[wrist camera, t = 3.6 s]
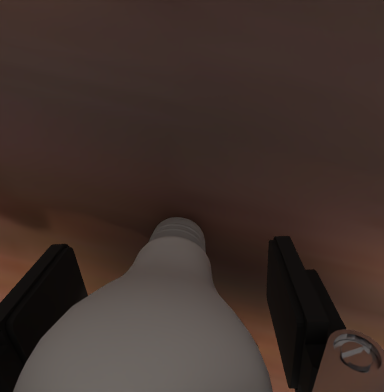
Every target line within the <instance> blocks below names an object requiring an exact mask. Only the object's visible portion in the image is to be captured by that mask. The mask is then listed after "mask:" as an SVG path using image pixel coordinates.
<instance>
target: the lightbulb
mask: <svg viewBox="0 0 384 392" xmlns="http://www.w3.org/2000/svg"><path fill="white" fill-rule="evenodd" d="M13 392H273V391H272V386H271V382H270V377H269V373H268V370H267V368H266V366H265V363H264V361H263V358H262V356H261V354H260V351H259V349H258V347H257V345H256V343H255V341H254V340H253V338H252V336H251V334H250V333H249V331H248V330H247V329H246V327H245V326H244V324H243V323H242V322H241V320H240V319H239V318H238V316H237V315H236V314H235V312H234V311H233V310H232V309H231V308H230V306H229V305H228V304H227V303H226V302H225V301H224V300H223V299H222V298H221V297H220V296H219V294H218V292H217V290H216V289H215V287H214V283H213V279H212V271H211V264H210V261H209V259H208V257H207V255H206V249H205V239H204V234H203V232H202V230H201V228H200V227H199V226H198V225H197V224H196V223H194V222H193V221H191V220H189V219H186V218H181V217H173V218H168V219H166V220H164V221H162V222H161V223H159V224H158V225H157V227H156V228H155V230H154V232H153V234H152V235H151V238H150V240H149V242H148V243H147V244H146V245H145V246H144V247H143V248H142V249H141V250H140V252H139V253H138V255H137V257H136V259H135V261H134V263H133V265H132V266H131V267H130V269H129V270H128V271H127V272H126V273H125V274H124V275H123V276H121V277H120V278H118V279H116V280H114V281H112V282H110V283H108V284H106V285H105V286H103V287H101V288H100V289H98V290H97V291H95V292H93V293H92V294H90V295H89V296H87V297H86V298H84V299H83V300H81V301H79V302H78V303H76V304H75V305H73V306H72V307H71V308H70V309H69V310H68V311H67V312H66V313H65V314H64V315H63V316H62V317H61V318H60V319H59V320H58V321H57V322H56V323H55V324H54V325H53V326H52V327H51V328H50V329H49V331H48V332H47V333H46V334H45V335H44V336H43V337H42V338H41V339H40V341H39V342H38V344H37V345H36V347H35V349H34V350H33V352H32V353H31V355H30V357H29V358H28V360H27V361H26V363H25V365H24V367H23V369H22V371H21V373H20V375H19V378H18V380H17V383H16V385H15V388H14V390H13Z"/></svg>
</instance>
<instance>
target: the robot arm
mask: <svg viewBox="0 0 384 392" xmlns="http://www.w3.org/2000/svg"><path fill="white" fill-rule="evenodd" d="M87 296H88V294H87V291H86V288H85V285H84V282H83V279H82V276H81V273H80V270H79V266H78V263H77V260H76V257H75V254H74V251H73V249H72V248H71V247H69V246H68V245H67V244H54V245H51V246H50V247H49V248H48V249H47V250H46V252H45V253H44V254H43V255H42V256H41V257H40V258H39V260H38V261H37V262H36V263H35V264H34V265H33V266H32V267H31V269H30V270H29V271H28V272H27V273H26V274H25V275H24V277H23V278H22V279H21V280H20V281H19V282H18V283H17V285H16V286H15V287H14V288H13V289H12V290H11V291H10V292H9V294H8V295H7V296H6V297H5V298H4V299H3V300H2V302H1V303H0V392H13V390H14V388H15V385H16V383H17V380H18V378H19V375H20V373H21V371H22V369H23V367H24V365H25V363H26V361H27V360H28V358H29V357H30V355H31V353H32V352H33V350H34V349H35V347H36V345H37V344H38V342H39V341H40V339H41V338H42V337H43V336H44V335H45V334H46V333H47V332H48V331H49V329H50V328H51V327H52V326H53V325H54V324H55V323H56V322H57V321H58V320H59V319H60V318H61V317H62V316H63V315H64V314H65V313H66V312H67V311H68V310H69V309H70V308H71V307H72V306H73V305H75V304H76V303H78V302H79V301H81V300H83V299H84V298H86V297H87ZM267 301H268V305H269V309H270V313H271V318H272V322H273V326H274V330H275V334H276V338H277V342H278V346H279V351H280V355H281V359H282V363H283V367H284V371H285V375H286V379H287V383H288V387H289V388H295V392H384V350H383V349H382V347H381V346H380V345H379V344H378V343H377V342H376V341H374V340H373V339H372V338H370V337H369V336H367V335H365V334H363V333H361V332H358V331H355V330H349V329H346V327H345V325H344V323H343V321H342V320H341V318H340V316H339V314H338V312H337V310H336V308H335V306H334V304H333V302H332V300H331V298H330V296H329V294H328V292H327V290H326V288H325V287H324V285H323V283H322V281H321V279H320V277H319V275H318V273H317V272H316V271H315V270H305V268H304V266H303V264H302V262H301V260H300V258H299V255H298V253H297V251H296V249H295V247H294V245H293V242H292V240H291V238H290V236H275V237H274V240H269V247H268V271H267Z"/></svg>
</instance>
